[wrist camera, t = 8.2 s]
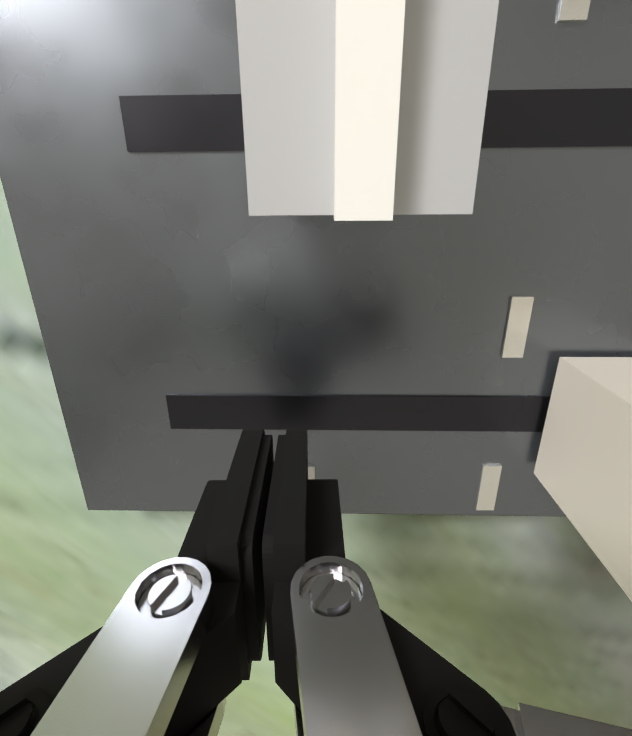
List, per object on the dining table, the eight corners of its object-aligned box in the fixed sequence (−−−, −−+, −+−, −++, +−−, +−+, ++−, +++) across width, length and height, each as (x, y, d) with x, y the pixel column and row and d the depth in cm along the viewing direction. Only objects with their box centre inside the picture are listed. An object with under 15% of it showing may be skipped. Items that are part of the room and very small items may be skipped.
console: (725, 482, 16) (781, 521, 14) (114, 475, 17) (86, 511, 15) (962, -61, 10) (1114, -123, 8) (-1, -37, 11) (-74, -90, 9)
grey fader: (403, 211, 11) (489, 219, 5) (286, 212, 11) (240, 221, 5) (417, 10, 9) (562, -307, 3) (280, 13, 9) (202, -293, 3)
